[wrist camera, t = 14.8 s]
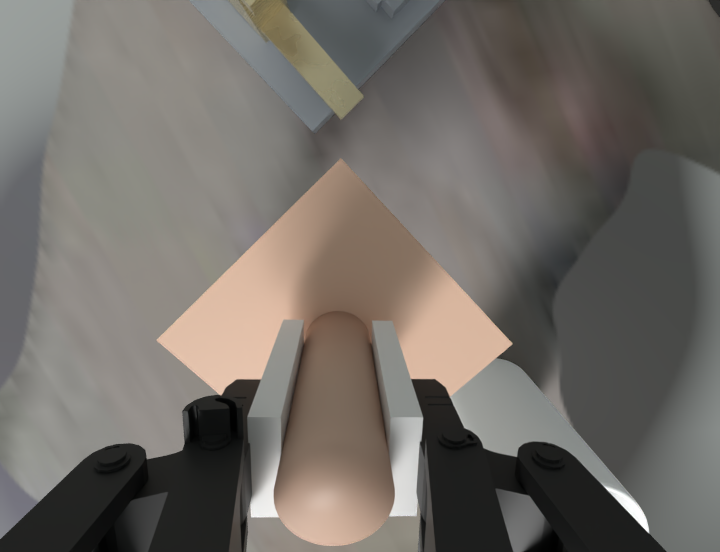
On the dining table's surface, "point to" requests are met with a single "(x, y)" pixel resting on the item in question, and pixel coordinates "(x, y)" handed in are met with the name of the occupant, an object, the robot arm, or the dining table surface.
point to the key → (301, 52)
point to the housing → (323, 43)
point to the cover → (335, 345)
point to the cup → (527, 423)
